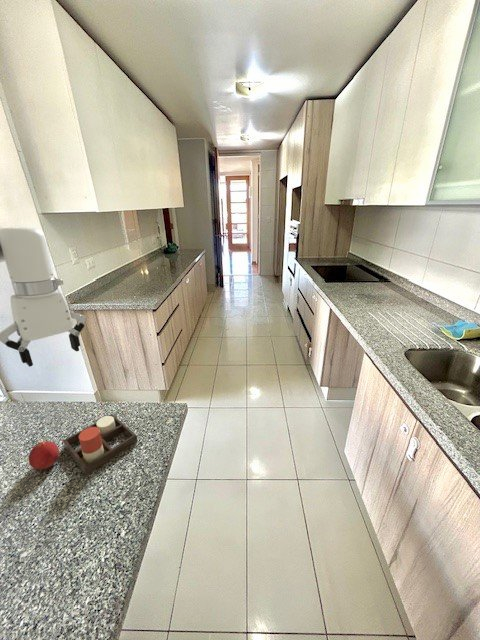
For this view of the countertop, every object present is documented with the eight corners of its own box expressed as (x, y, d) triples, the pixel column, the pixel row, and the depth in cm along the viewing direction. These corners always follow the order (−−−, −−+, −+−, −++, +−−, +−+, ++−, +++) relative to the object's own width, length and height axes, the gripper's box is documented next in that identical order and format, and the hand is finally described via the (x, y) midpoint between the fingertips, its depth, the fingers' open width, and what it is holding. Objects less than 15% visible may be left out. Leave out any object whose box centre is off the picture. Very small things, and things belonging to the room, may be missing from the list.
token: (96, 433, 73) (93, 422, 71) (111, 424, 76) (109, 413, 74) (103, 441, 70) (101, 429, 69) (119, 431, 73) (117, 420, 72)
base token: (81, 459, 64) (78, 447, 63) (99, 448, 68) (97, 436, 66) (89, 469, 62) (86, 457, 60) (108, 457, 65) (105, 445, 64)
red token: (78, 447, 63) (75, 434, 62) (97, 436, 66) (94, 424, 65) (86, 457, 60) (83, 443, 59) (105, 445, 64) (102, 432, 62)
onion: (28, 480, 60) (18, 454, 57) (39, 459, 65) (30, 435, 62) (57, 474, 62) (48, 448, 59) (65, 454, 67) (58, 430, 64)
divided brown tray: (65, 449, 68) (62, 440, 67) (113, 422, 78) (112, 413, 77) (87, 478, 61) (84, 468, 60) (137, 443, 70) (136, 435, 69)
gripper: (72, 279, 65) (85, 340, 71) (-22, 291, 52) (3, 365, 58) (85, 283, 61) (97, 349, 67) (-14, 298, 48) (12, 377, 54)
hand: (53, 356), depth 63 cm, fingers open, 9 cm apart
